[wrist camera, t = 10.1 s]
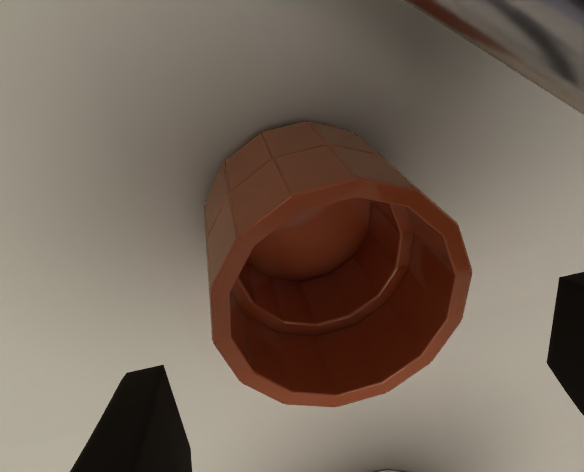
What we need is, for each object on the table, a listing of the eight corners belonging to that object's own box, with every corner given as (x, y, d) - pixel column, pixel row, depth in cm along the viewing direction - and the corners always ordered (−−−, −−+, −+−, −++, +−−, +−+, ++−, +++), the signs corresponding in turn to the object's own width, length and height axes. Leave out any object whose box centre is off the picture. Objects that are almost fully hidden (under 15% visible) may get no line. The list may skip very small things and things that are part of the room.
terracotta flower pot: (424, 165, 15) (521, 239, 11) (332, 314, 17) (383, 429, 12) (256, 81, 13) (291, 129, 9) (173, 259, 15) (167, 375, 10)
